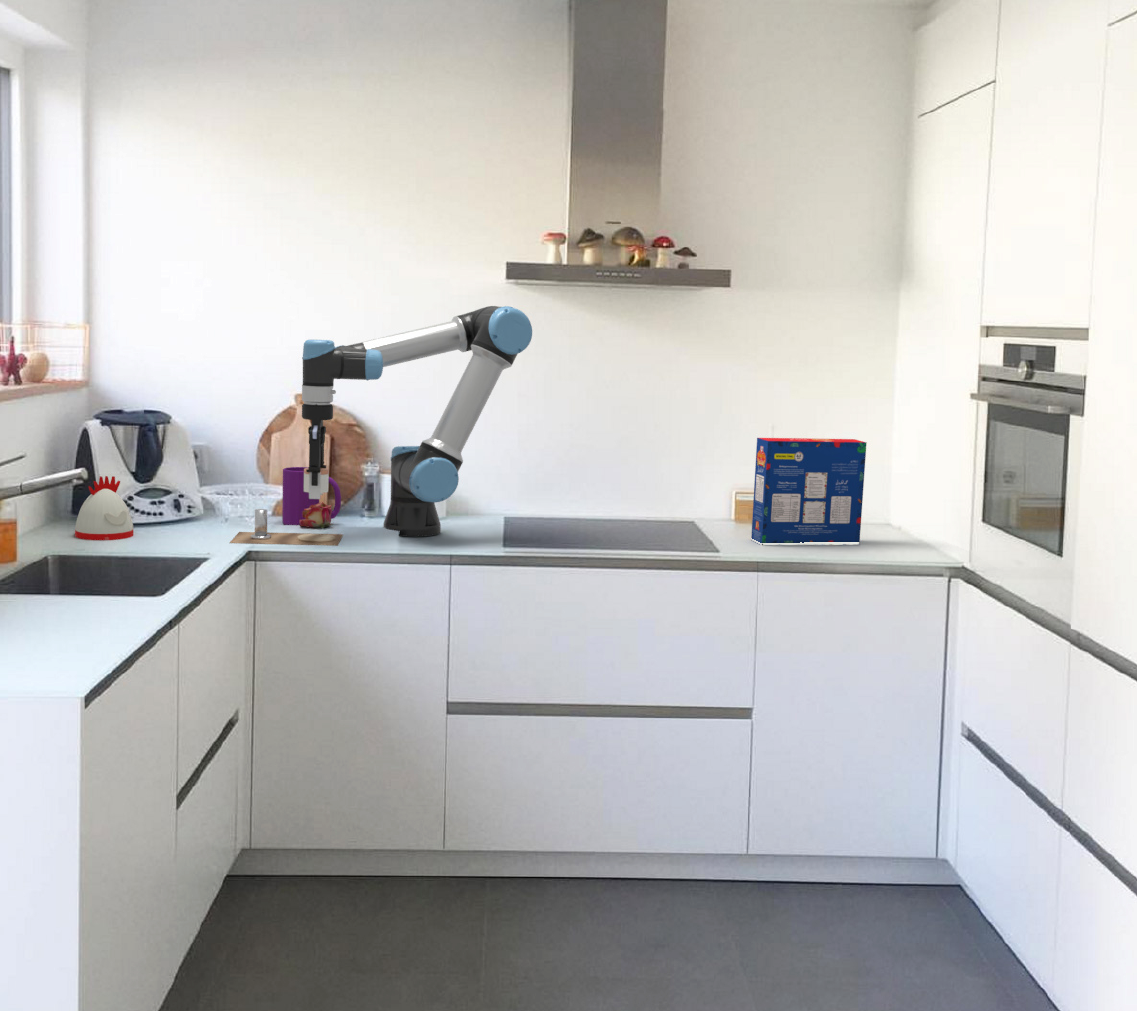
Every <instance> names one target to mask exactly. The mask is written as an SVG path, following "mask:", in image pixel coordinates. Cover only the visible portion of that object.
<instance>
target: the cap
mask: <svg viewBox="0 0 1137 1011" xmlns="http://www.w3.org/2000/svg"><path fill="white" fill-rule="evenodd" d="M306 469H308V468H305V469H304V492H309V472H306ZM320 469H321V471H320V472H321V492H320V493H323V494H325V493H329V483H328V482H329V477H330V476H329V474H330V472H329V470H330V468H327V467H326V468H320Z"/></svg>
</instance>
